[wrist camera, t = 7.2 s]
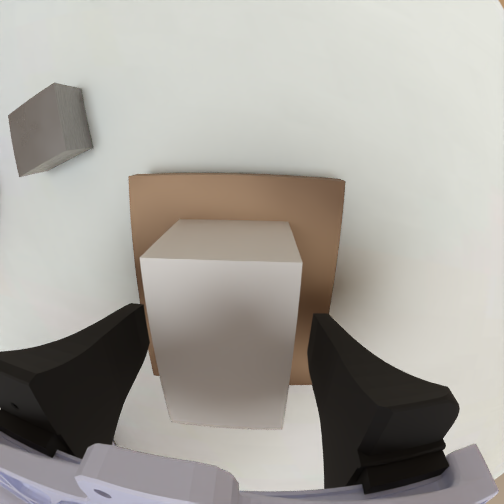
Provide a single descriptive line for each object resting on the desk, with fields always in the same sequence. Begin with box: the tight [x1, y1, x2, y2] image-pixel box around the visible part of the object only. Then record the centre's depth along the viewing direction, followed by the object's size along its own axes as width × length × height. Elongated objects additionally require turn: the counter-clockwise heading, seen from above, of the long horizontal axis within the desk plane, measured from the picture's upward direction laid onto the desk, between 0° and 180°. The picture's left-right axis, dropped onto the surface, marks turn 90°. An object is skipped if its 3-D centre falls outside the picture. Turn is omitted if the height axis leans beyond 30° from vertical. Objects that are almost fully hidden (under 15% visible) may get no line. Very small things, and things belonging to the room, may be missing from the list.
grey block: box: [8, 83, 93, 177], centre depth 13 cm, size 4×4×3 cm
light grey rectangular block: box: [140, 219, 303, 430], centre depth 13 cm, size 5×8×5 cm, turn 179°
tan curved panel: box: [129, 173, 345, 385], centre depth 16 cm, size 12×10×2 cm
